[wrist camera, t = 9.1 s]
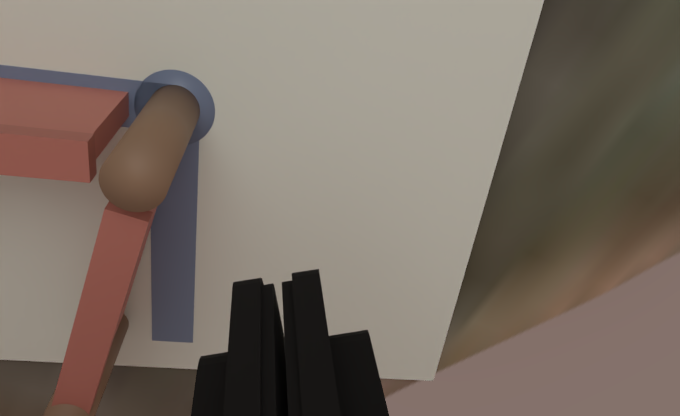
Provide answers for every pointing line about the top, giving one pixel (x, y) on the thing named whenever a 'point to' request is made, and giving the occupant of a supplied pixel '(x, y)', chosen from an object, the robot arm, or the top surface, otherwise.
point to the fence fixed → (96, 138)
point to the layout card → (271, 165)
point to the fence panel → (101, 312)
